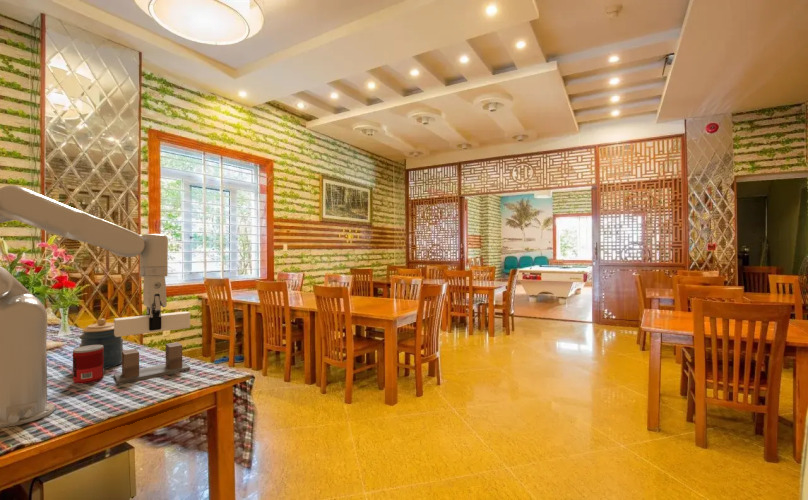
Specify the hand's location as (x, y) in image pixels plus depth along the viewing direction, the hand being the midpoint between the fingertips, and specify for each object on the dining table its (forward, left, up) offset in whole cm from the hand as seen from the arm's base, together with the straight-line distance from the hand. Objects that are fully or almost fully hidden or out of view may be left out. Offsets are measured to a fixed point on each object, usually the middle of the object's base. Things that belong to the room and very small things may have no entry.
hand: (153, 328), depth 121 cm
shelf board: (0, 0, -1) cm, 1 cm away
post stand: (+14, -2, -19) cm, 23 cm away
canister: (+38, +10, -19) cm, 44 cm away
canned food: (+21, +15, -19) cm, 32 cm away
